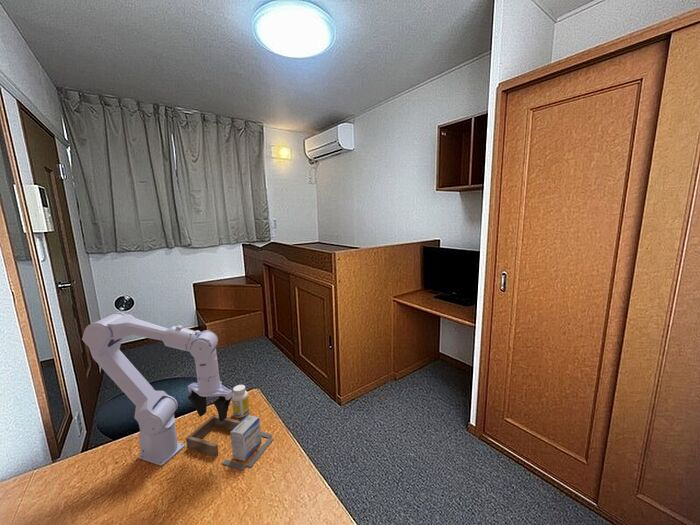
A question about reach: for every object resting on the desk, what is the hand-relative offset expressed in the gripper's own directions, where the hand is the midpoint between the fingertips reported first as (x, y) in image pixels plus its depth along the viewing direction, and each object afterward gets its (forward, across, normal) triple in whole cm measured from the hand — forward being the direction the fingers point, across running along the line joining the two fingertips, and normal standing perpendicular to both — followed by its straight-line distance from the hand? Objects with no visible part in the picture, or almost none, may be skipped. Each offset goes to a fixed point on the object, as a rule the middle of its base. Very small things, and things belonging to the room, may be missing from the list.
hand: (213, 416), depth 88 cm
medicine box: (+11, -9, -2) cm, 14 cm away
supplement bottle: (+11, +4, -16) cm, 19 cm away
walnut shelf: (+10, +3, -3) cm, 11 cm away
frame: (+11, -9, -3) cm, 14 cm away
